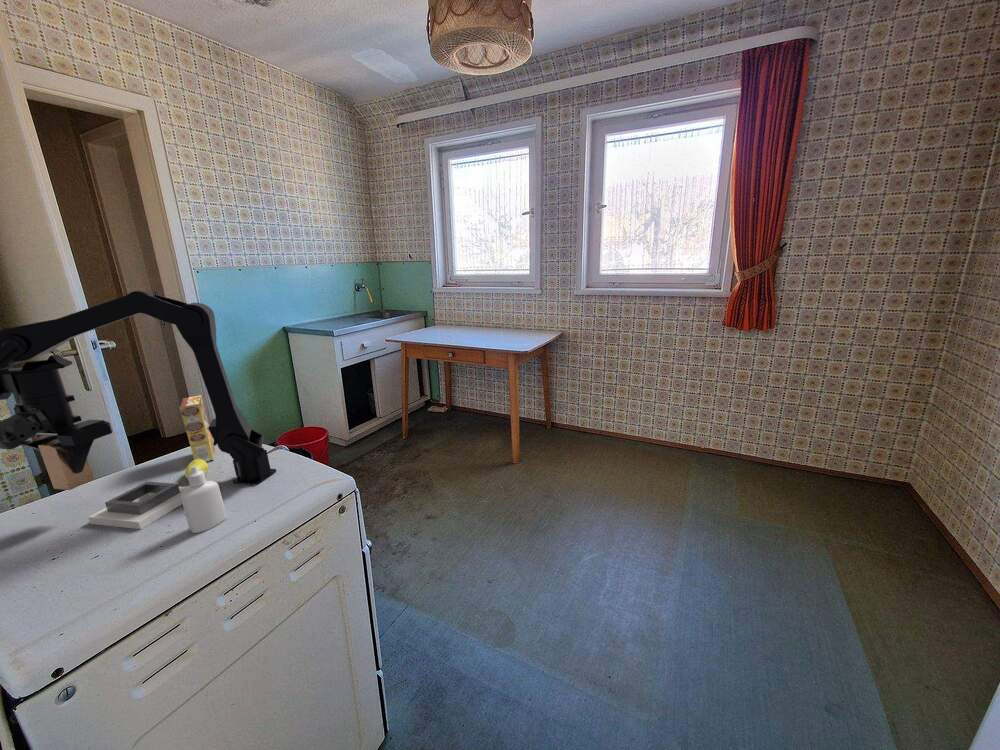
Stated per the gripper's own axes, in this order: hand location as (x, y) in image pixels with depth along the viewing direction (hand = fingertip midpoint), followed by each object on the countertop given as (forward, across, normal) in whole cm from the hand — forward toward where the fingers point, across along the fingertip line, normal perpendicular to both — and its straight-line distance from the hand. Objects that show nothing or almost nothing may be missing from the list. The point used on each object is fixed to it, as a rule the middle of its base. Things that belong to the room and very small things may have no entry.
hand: (70, 471), depth 78 cm
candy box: (+10, +1, +26) cm, 28 cm away
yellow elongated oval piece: (+10, +8, +17) cm, 22 cm away
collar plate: (+10, +10, +4) cm, 15 cm away
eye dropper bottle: (+10, +28, +1) cm, 30 cm away
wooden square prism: (+3, 0, 0) cm, 3 cm away
